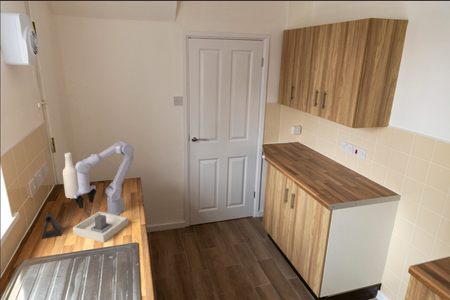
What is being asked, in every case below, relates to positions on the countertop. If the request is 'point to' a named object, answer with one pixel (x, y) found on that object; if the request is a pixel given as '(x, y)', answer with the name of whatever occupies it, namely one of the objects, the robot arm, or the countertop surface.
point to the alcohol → (70, 177)
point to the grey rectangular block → (100, 222)
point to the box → (90, 231)
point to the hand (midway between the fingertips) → (86, 205)
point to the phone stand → (55, 225)
